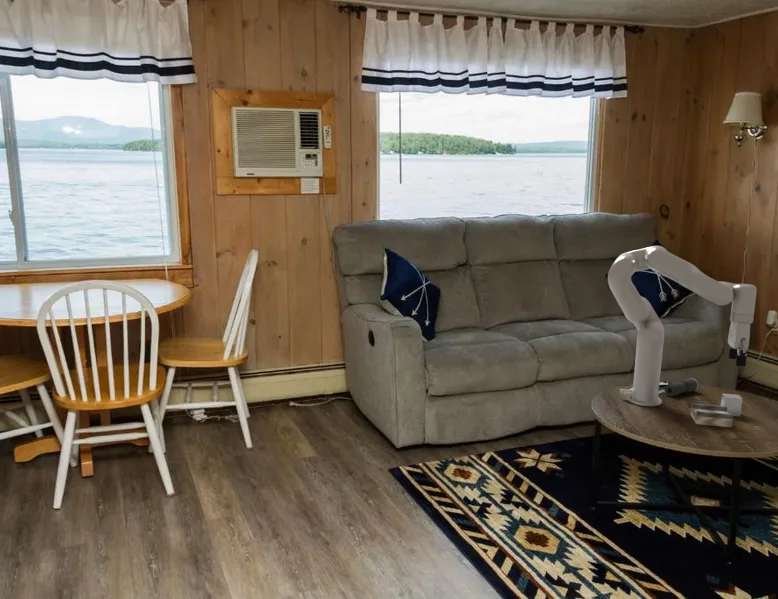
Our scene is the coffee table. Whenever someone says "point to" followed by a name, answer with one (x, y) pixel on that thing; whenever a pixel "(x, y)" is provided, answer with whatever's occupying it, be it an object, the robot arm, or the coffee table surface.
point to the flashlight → (681, 387)
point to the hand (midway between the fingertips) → (736, 362)
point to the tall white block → (732, 403)
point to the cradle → (711, 415)
